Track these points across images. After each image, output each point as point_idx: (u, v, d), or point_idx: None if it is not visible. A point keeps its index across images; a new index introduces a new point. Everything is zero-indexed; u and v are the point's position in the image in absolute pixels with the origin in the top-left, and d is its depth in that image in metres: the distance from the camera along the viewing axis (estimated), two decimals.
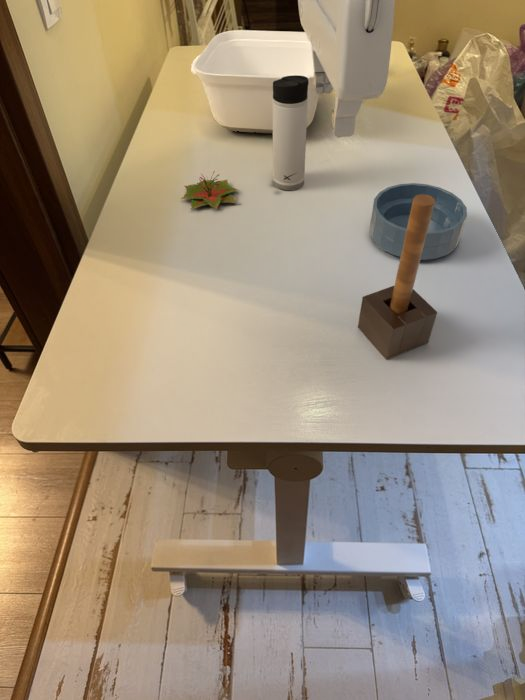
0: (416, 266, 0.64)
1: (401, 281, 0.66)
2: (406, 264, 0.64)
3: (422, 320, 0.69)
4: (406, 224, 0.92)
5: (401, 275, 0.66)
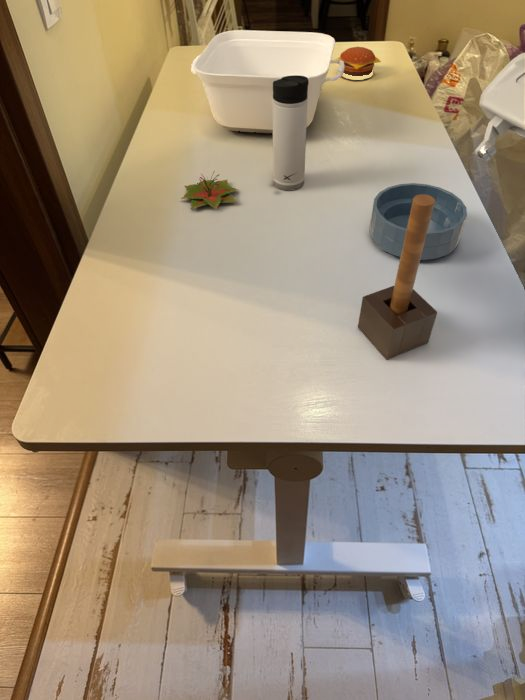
0: (416, 266, 0.64)
1: (401, 281, 0.66)
2: (406, 264, 0.64)
3: (422, 320, 0.69)
4: (406, 224, 0.92)
5: (401, 275, 0.66)
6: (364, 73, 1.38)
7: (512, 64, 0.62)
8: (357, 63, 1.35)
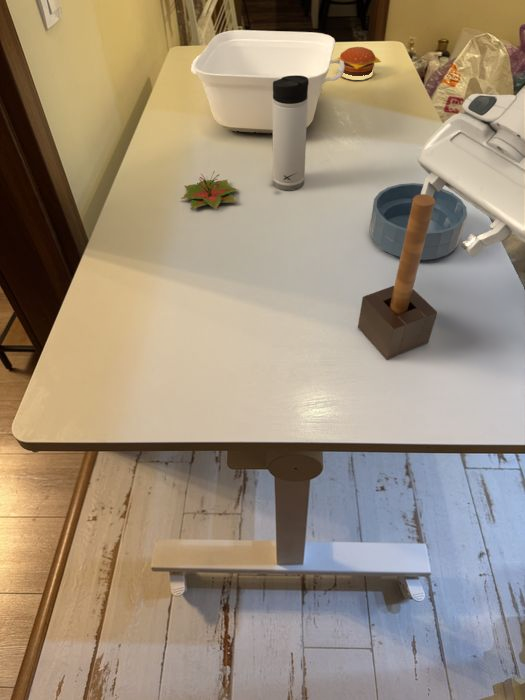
0: (416, 266, 0.64)
1: (401, 281, 0.66)
2: (406, 264, 0.64)
3: (422, 320, 0.69)
4: (406, 224, 0.92)
5: (401, 275, 0.66)
6: (364, 73, 1.38)
7: (447, 124, 0.64)
8: (357, 63, 1.35)
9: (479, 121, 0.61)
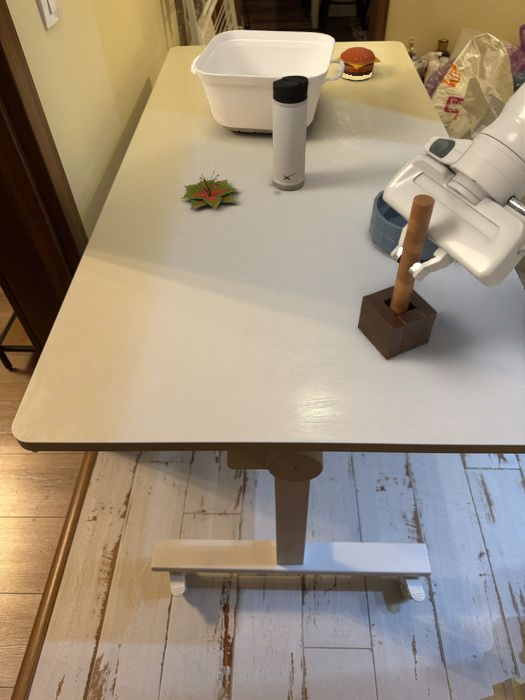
0: None
1: (401, 281, 0.66)
2: (406, 264, 0.64)
3: (422, 320, 0.69)
4: (406, 224, 0.92)
5: (401, 275, 0.66)
6: (364, 73, 1.38)
7: (410, 164, 0.66)
8: (357, 63, 1.35)
9: (439, 163, 0.63)
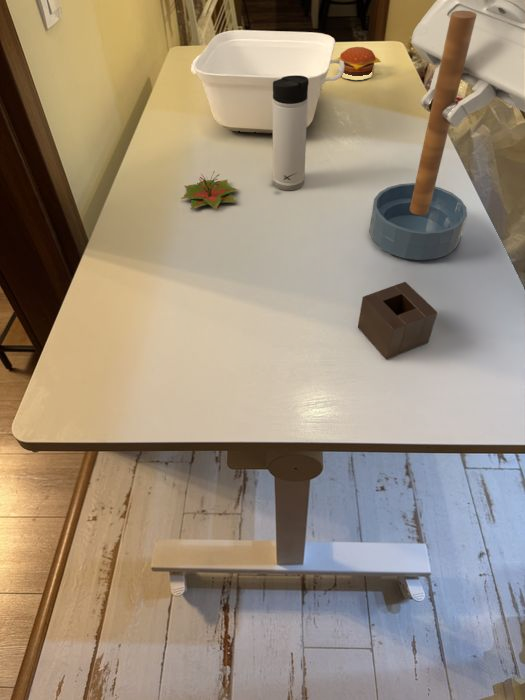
0: None
1: (433, 131, 0.58)
2: (439, 106, 0.56)
3: (422, 320, 0.69)
4: (406, 224, 0.92)
5: (432, 123, 0.58)
6: (364, 73, 1.38)
7: None
8: (357, 63, 1.35)
9: None
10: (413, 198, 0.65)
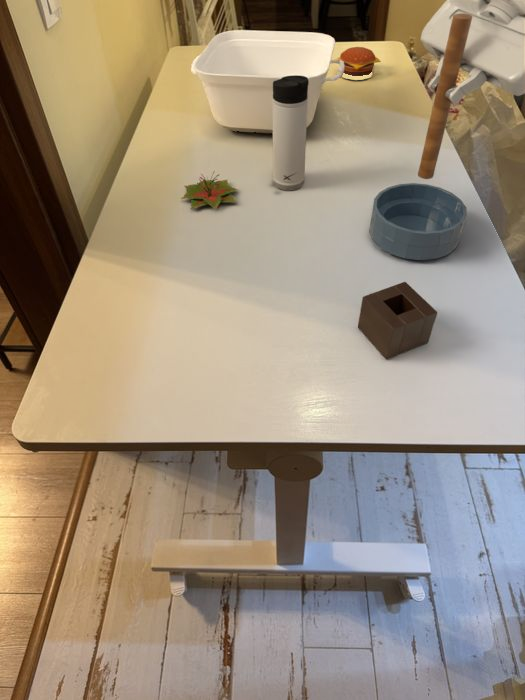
0: None
1: (438, 108, 0.74)
2: (443, 88, 0.72)
3: (422, 320, 0.69)
4: (406, 224, 0.92)
5: (437, 102, 0.73)
6: (364, 73, 1.38)
7: (447, 3, 0.74)
8: (357, 63, 1.35)
9: None
10: (421, 164, 0.81)
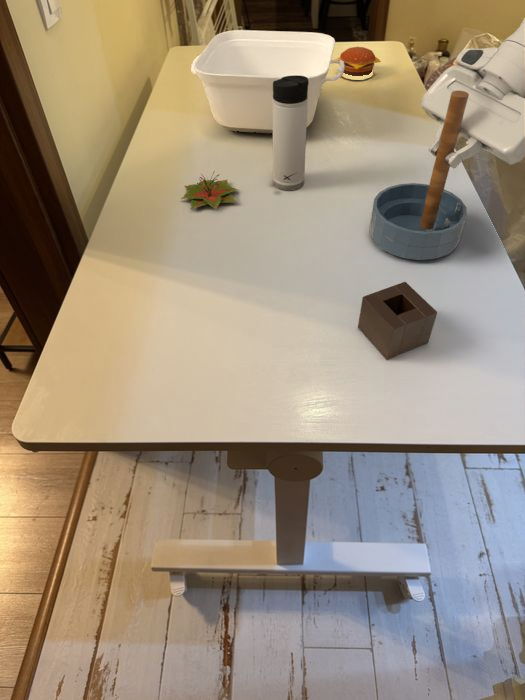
0: None
1: (438, 171, 0.81)
2: (442, 154, 0.79)
3: (422, 320, 0.69)
4: (406, 224, 0.92)
5: (437, 165, 0.80)
6: (364, 73, 1.38)
7: (445, 74, 0.81)
8: (357, 63, 1.35)
9: (470, 70, 0.77)
10: (422, 217, 0.88)
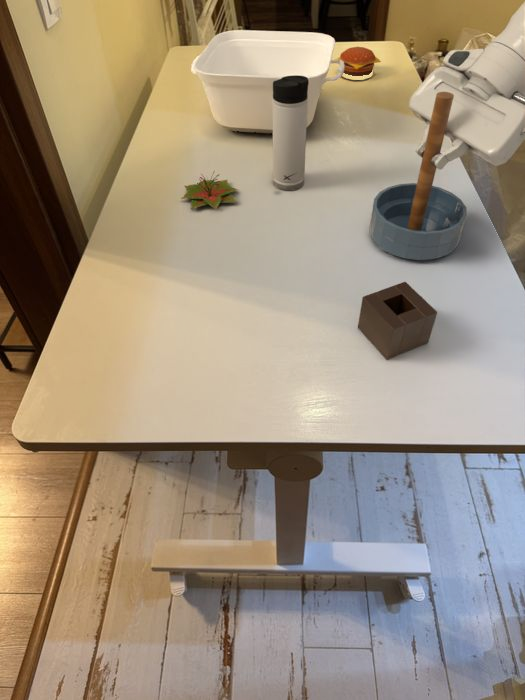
0: None
1: (424, 172, 0.81)
2: (428, 155, 0.79)
3: (422, 320, 0.69)
4: (406, 224, 0.92)
5: (424, 166, 0.80)
6: (364, 73, 1.38)
7: (432, 75, 0.80)
8: (357, 63, 1.35)
9: (456, 71, 0.77)
10: (410, 218, 0.88)
